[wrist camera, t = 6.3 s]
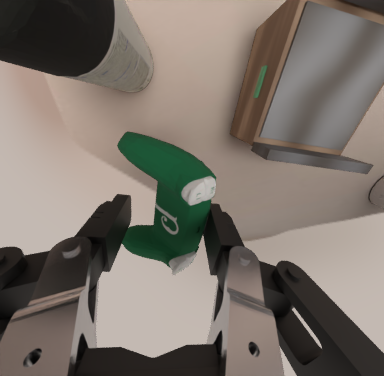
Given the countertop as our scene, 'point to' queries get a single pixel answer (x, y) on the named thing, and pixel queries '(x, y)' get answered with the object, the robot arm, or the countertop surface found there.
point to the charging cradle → (312, 81)
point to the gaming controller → (170, 201)
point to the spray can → (77, 41)
